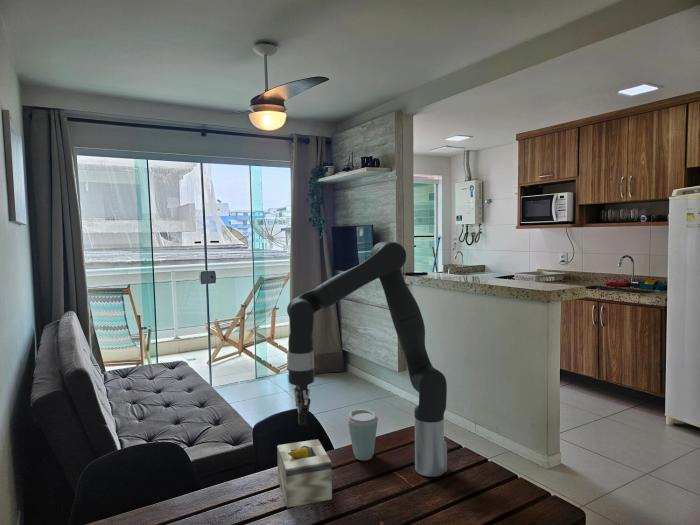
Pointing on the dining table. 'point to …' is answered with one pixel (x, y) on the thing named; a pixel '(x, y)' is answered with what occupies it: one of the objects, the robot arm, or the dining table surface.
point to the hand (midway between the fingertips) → (302, 424)
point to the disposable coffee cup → (362, 432)
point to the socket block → (304, 474)
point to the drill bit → (301, 453)
